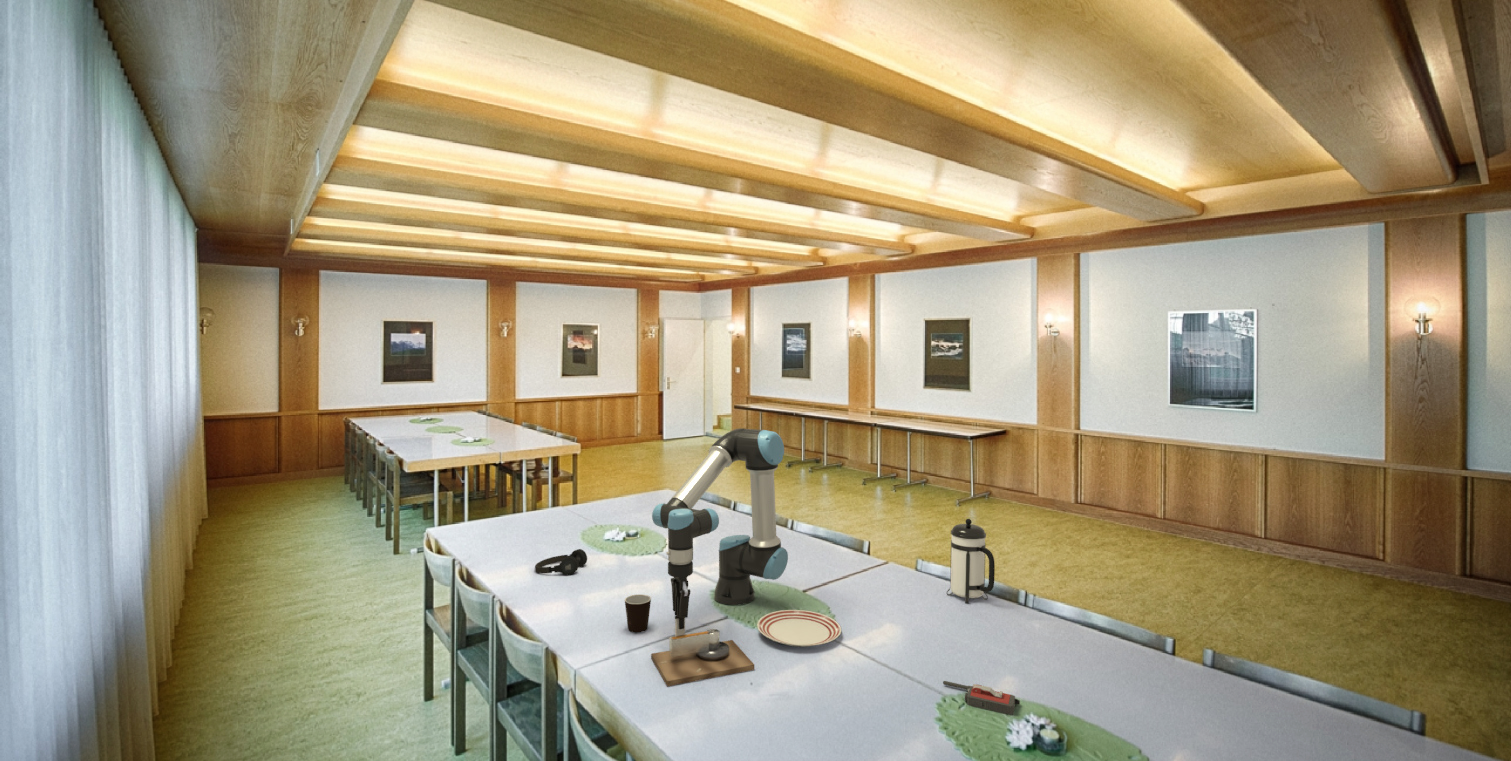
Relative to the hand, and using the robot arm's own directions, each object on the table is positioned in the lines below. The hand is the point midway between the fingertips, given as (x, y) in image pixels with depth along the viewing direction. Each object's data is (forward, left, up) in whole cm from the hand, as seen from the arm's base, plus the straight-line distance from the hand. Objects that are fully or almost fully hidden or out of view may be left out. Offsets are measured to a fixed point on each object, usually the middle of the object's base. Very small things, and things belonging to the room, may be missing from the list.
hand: (680, 637), depth 201 cm
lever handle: (-4, +7, -3) cm, 9 cm away
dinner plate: (-40, +1, -5) cm, 40 cm away
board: (-4, +9, -5) cm, 11 cm away
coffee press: (-115, -4, -5) cm, 115 cm away
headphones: (+25, -95, -5) cm, 98 cm away
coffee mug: (+7, -24, -5) cm, 26 cm away
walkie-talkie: (-66, +56, -6) cm, 87 cm away
